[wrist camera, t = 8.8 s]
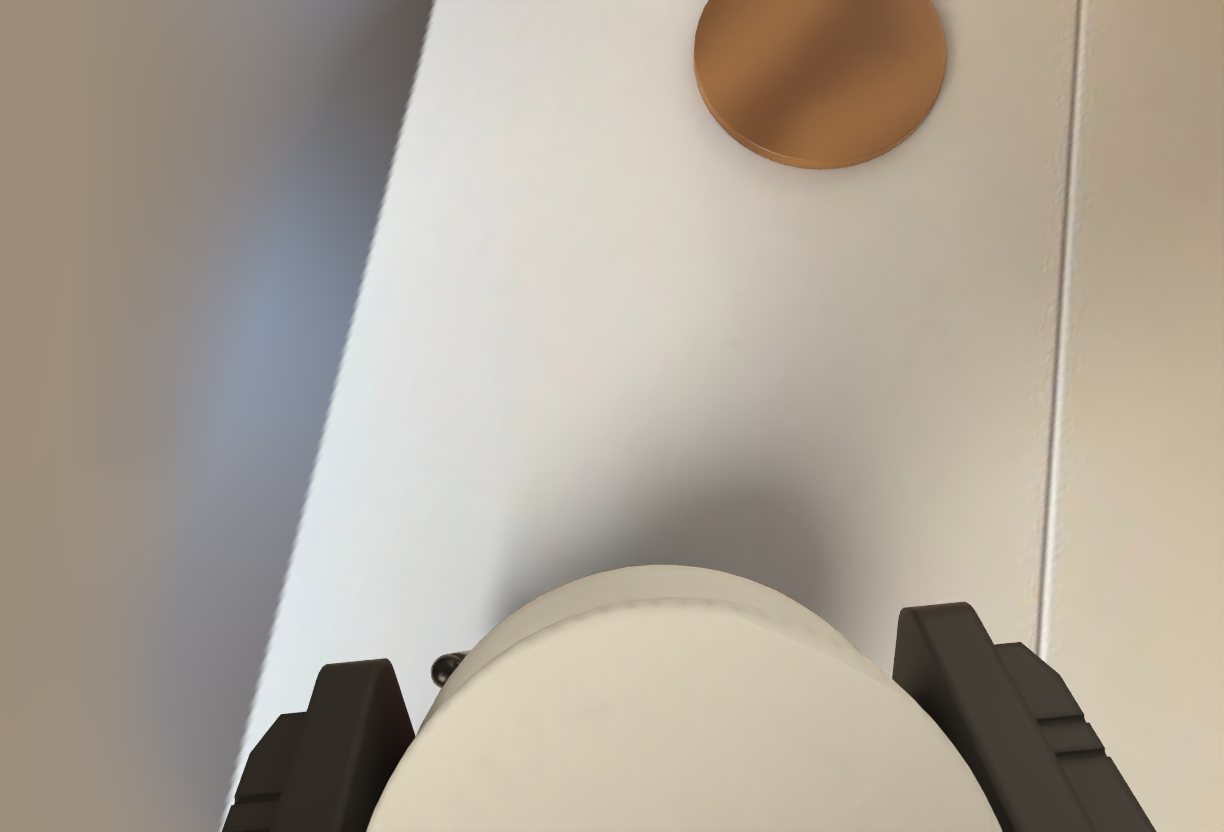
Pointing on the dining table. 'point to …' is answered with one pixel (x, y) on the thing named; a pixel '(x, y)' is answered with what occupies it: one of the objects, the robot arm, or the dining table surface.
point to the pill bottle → (676, 722)
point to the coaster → (819, 75)
